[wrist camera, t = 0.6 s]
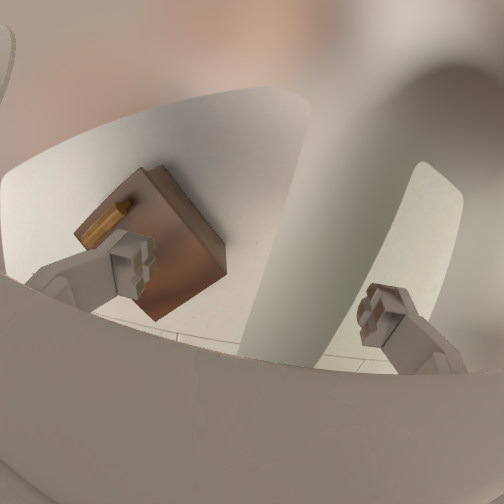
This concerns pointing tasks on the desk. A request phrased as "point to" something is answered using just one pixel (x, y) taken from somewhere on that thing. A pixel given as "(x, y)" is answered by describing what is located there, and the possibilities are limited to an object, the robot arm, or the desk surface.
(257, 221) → the desk surface
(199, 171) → the desk surface
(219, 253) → the compartment
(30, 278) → the robot arm
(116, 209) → the lid
